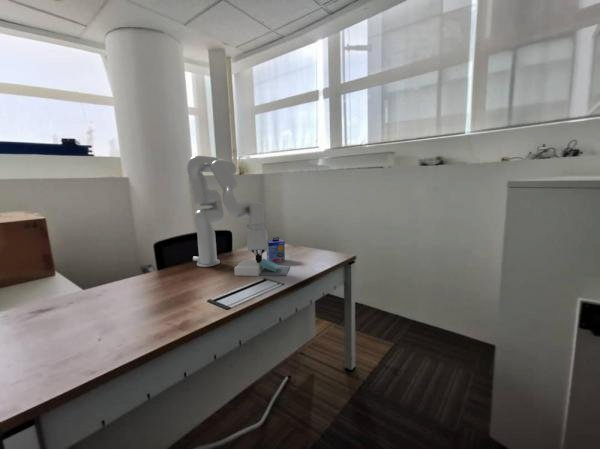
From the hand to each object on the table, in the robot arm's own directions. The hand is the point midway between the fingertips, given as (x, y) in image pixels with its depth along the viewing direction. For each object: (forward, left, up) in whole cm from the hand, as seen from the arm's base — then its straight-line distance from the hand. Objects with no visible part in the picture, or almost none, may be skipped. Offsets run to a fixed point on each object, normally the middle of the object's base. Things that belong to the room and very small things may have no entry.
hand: (259, 262), depth 142 cm
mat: (+8, 0, -5) cm, 10 cm away
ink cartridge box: (+5, +18, -5) cm, 20 cm away
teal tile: (+5, 0, -3) cm, 6 cm away
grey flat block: (-5, 0, -5) cm, 7 cm away
